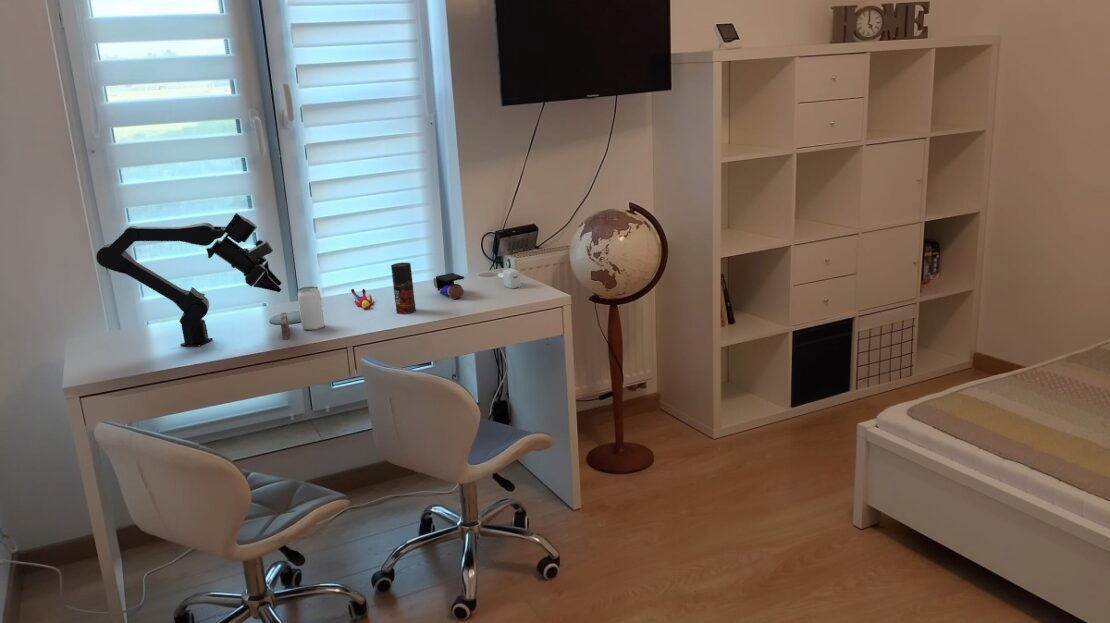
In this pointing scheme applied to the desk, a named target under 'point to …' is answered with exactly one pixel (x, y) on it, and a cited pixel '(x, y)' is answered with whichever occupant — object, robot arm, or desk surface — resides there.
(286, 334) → the partition
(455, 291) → the figurine character
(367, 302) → the character figure
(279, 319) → the pad
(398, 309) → the deodorant
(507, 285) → the power adapter
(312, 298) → the can
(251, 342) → the desk surface
